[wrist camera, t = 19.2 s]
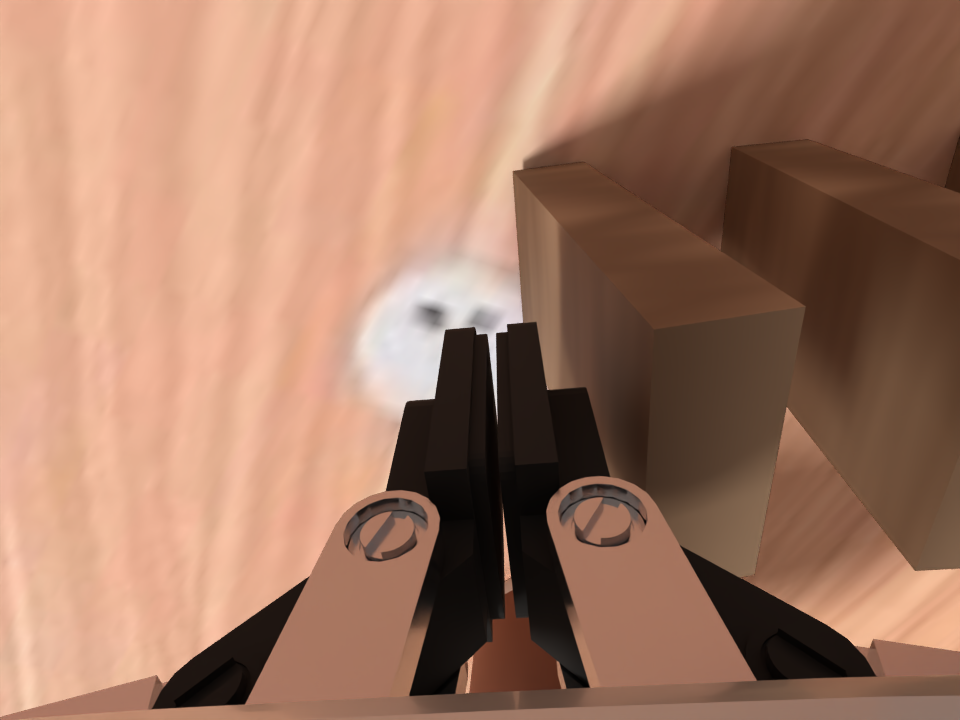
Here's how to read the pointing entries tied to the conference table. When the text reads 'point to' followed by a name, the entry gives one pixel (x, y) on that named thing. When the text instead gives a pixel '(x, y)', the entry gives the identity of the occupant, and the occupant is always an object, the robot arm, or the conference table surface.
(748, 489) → the domino
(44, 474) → the conference table surface
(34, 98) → the conference table surface
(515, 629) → the coffee cup
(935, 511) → the domino
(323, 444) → the conference table surface
